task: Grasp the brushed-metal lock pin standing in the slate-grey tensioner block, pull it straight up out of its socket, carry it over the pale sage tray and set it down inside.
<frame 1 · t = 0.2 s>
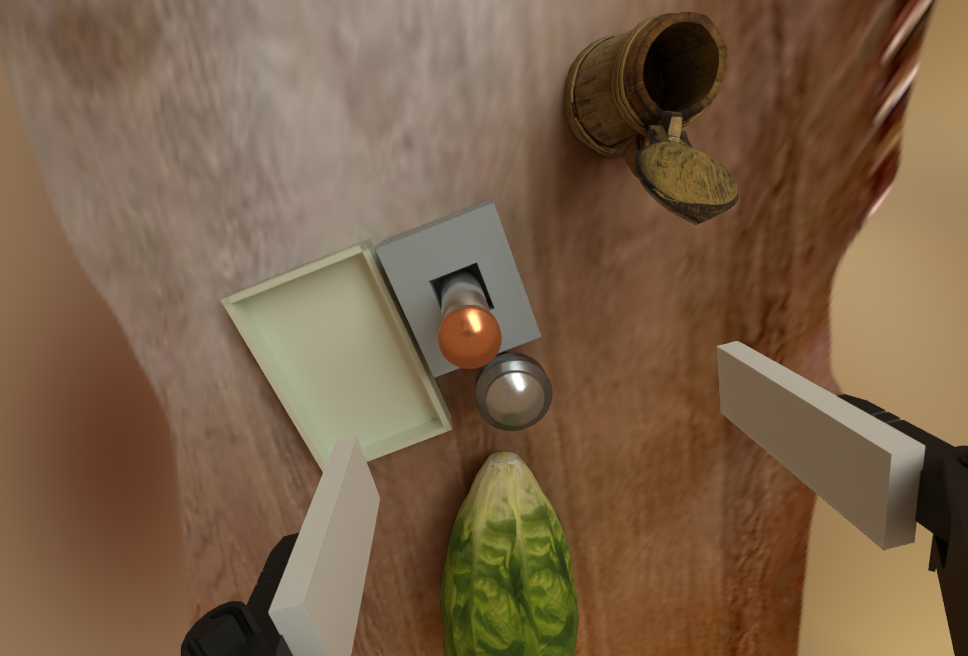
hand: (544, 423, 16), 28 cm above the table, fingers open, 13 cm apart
pin: (460, 284, 41), point 1 cm above the table, touching tensioner block
wooden mug: (608, 126, 40), on the table
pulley: (502, 361, 45), on the table
tray: (350, 357, 44), on the table
lettuce: (500, 524, 52), on the table
tensioner block: (460, 282, 42), on the table
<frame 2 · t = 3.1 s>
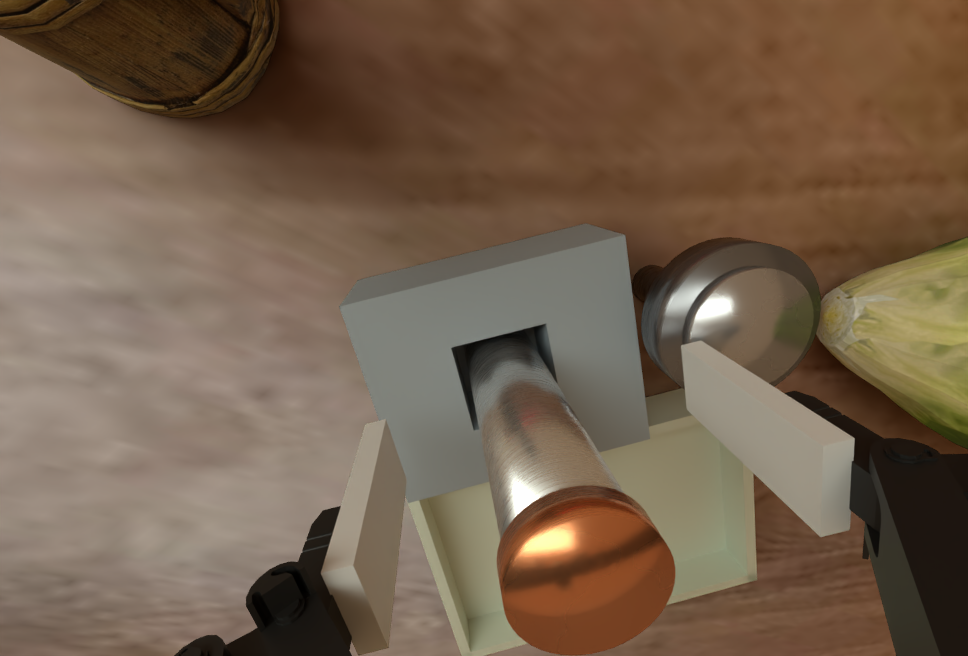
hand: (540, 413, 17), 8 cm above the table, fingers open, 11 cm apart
pin: (496, 347, 24), point 1 cm above the table, touching tensioner block
wooden mug: (223, 20, 19), on the table
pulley: (649, 283, 25), on the table
tray: (581, 506, 29), on the table
lettuce: (949, 315, 28), on the table
tensioner block: (494, 340, 25), on the table
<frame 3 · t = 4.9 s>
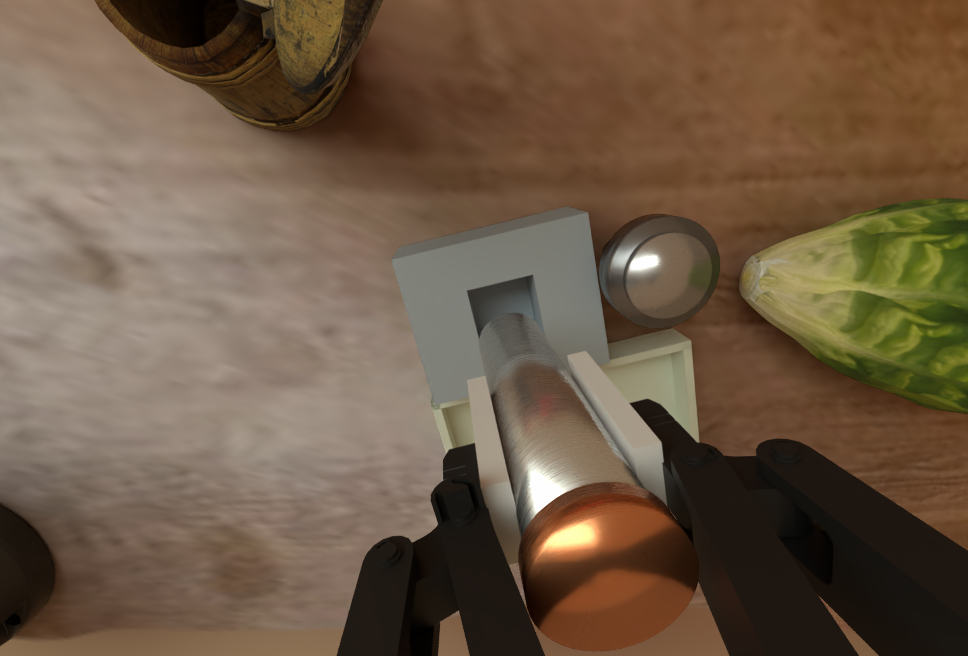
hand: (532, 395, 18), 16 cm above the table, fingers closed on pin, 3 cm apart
pin: (511, 343, 24), point 10 cm above the table, touching gripper
wooden mug: (313, 63, 28), on the table
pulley: (616, 252, 33), on the table
tray: (566, 429, 38), on the table
lettuce: (855, 281, 36), on the table
tensioner block: (498, 294, 33), on the table
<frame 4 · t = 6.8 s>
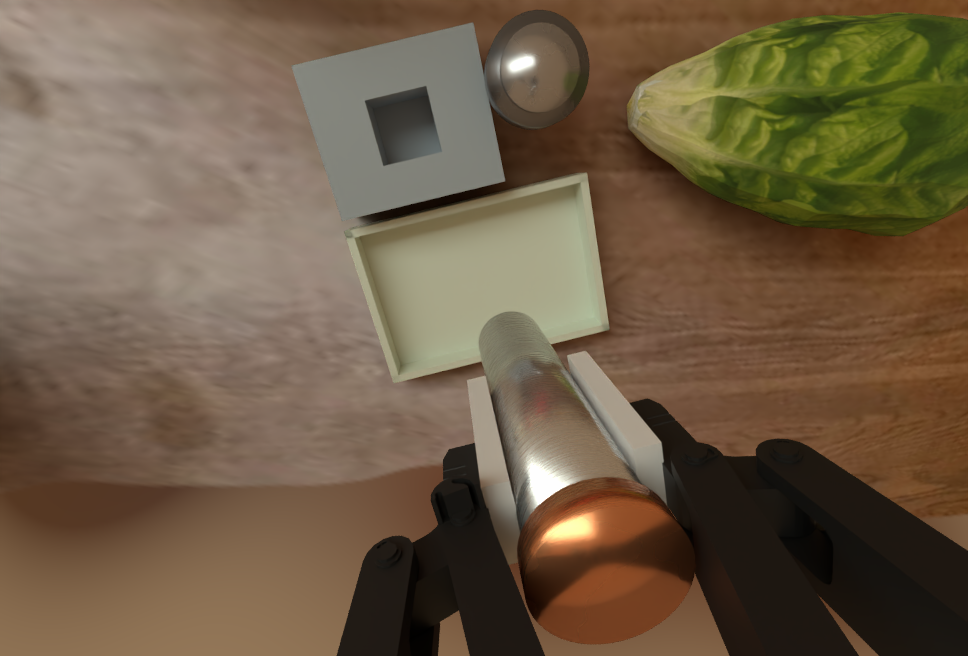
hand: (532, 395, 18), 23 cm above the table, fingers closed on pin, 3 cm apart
pin: (510, 342, 24), point 17 cm above the table, touching gripper
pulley: (518, 92, 35), on the table
tray: (482, 276, 40), on the table
lettuce: (743, 130, 38), on the table
tensioner block: (408, 133, 36), on the table
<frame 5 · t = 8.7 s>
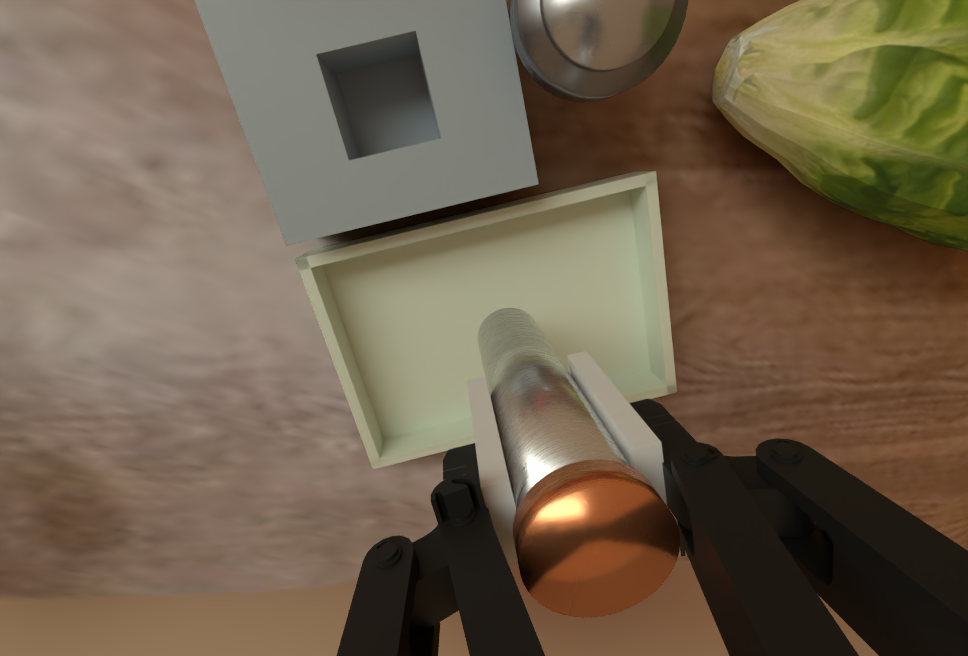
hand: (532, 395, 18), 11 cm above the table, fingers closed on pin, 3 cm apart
pin: (508, 337, 25), point 4 cm above the table, touching gripper
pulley: (553, 52, 24), on the table
tray: (497, 317, 28), on the table
lettuce: (866, 111, 27), on the table
tensioner block: (392, 112, 24), on the table
when the fingers open (8 cm above the table, at t = 9.7 s): pin stays where it is, resting on tray.
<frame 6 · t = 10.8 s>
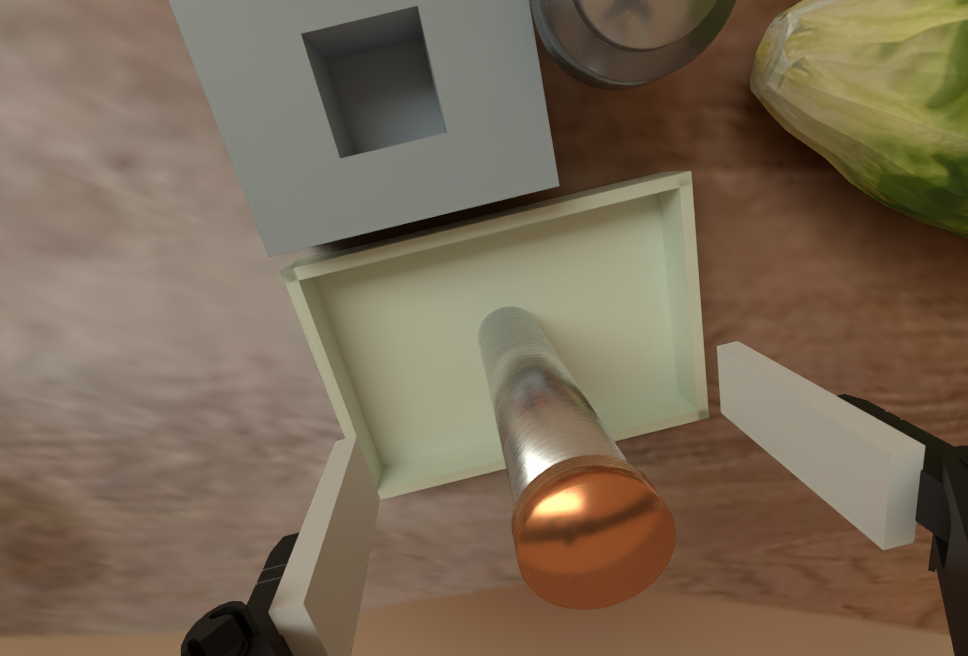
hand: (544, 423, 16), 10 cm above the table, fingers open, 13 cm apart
pin: (509, 336, 25), point 1 cm above the table, touching tray
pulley: (574, 36, 21), on the table
tray: (508, 333, 26), on the table
lettuce: (920, 103, 24), on the table
tensioner block: (391, 105, 21), on the table
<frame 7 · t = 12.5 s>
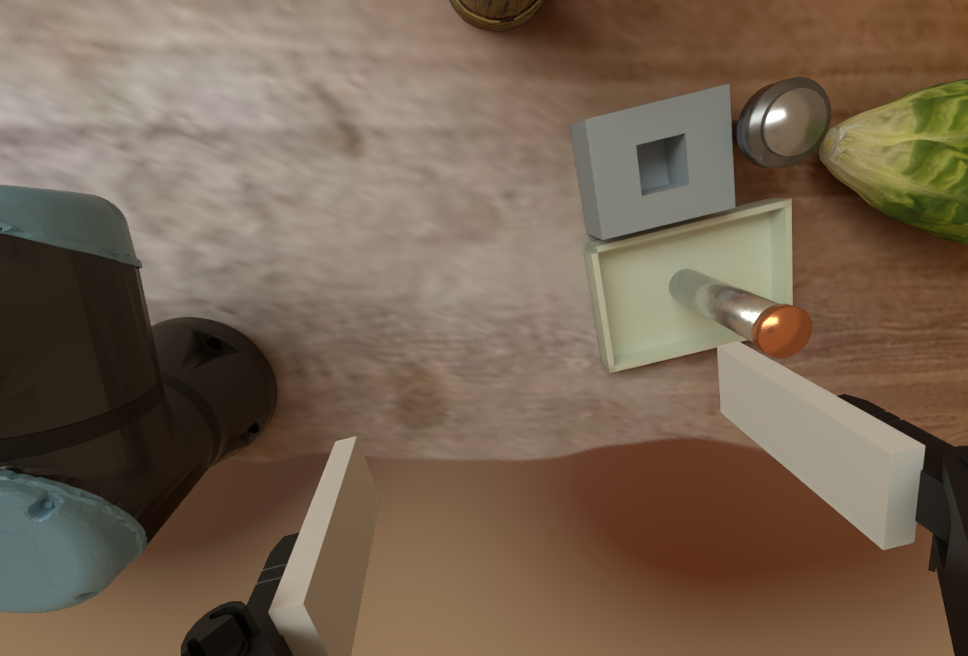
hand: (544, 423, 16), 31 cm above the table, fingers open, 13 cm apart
pin: (685, 285, 47), point 1 cm above the table, touching tray
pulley: (732, 132, 43), on the table
tray: (682, 284, 47), on the table
lettuce: (906, 161, 45), on the table
tensioner block: (640, 166, 43), on the table
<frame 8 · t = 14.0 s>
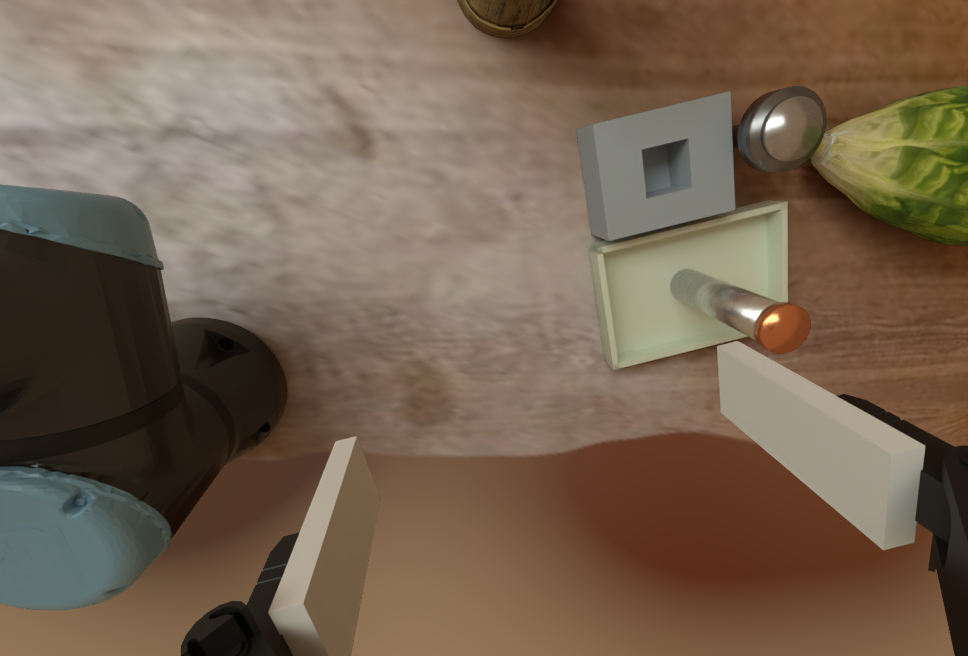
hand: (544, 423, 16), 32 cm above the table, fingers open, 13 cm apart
pin: (685, 284, 48), point 1 cm above the table, touching tray
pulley: (731, 137, 45), on the table
tray: (682, 283, 49), on the table
lettuce: (892, 165, 47), on the table
tensioner block: (643, 169, 45), on the table
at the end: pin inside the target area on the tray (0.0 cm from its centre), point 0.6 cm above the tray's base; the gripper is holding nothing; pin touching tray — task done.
